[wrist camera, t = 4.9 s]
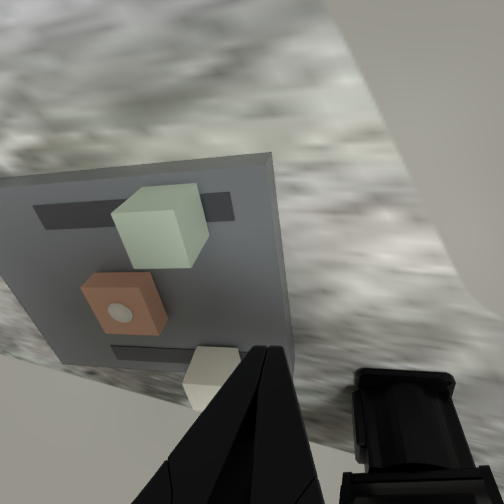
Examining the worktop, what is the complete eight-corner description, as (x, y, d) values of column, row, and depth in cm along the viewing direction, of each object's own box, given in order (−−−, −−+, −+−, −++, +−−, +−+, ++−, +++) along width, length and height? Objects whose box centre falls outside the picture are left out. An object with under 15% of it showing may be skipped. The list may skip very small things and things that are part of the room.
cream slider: (237, 347, 22) (227, 386, 20) (244, 375, 24) (235, 414, 21) (197, 346, 23) (182, 383, 21) (206, 373, 25) (193, 410, 22)
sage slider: (196, 182, 16) (173, 209, 13) (209, 235, 18) (191, 267, 15) (141, 187, 17) (110, 213, 14) (159, 237, 18) (133, 268, 16)
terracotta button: (149, 271, 20) (137, 288, 19) (168, 318, 22) (158, 336, 21) (94, 272, 21) (79, 288, 20) (117, 317, 23) (104, 334, 22)
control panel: (271, 152, 17) (265, 165, 15) (294, 357, 25) (292, 380, 24) (-28, 181, 21) (-59, 193, 20) (77, 346, 30) (62, 365, 28)
